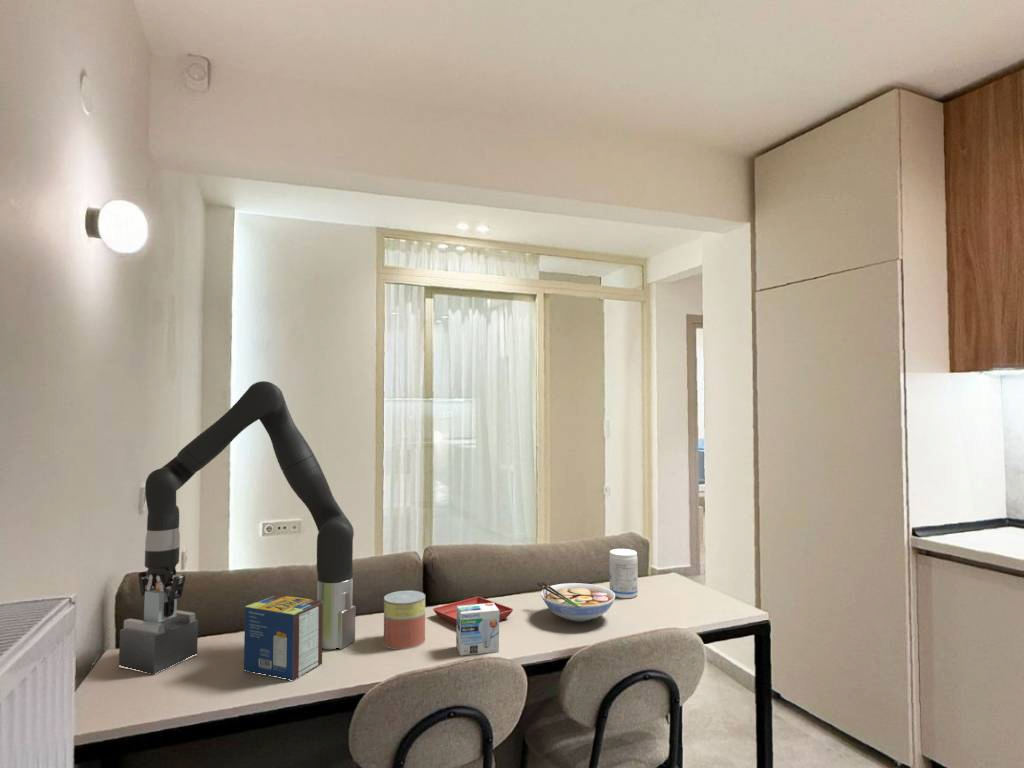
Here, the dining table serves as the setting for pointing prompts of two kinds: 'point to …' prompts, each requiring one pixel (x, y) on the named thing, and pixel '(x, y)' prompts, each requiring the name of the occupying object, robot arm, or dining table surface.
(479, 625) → the light bulb box
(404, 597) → the canned food
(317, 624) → the protein box
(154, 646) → the grey ridged block
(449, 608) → the plant saucer
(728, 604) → the dining table surface
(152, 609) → the block
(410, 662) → the dining table surface
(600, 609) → the ramen bowl
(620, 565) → the supplement tub
